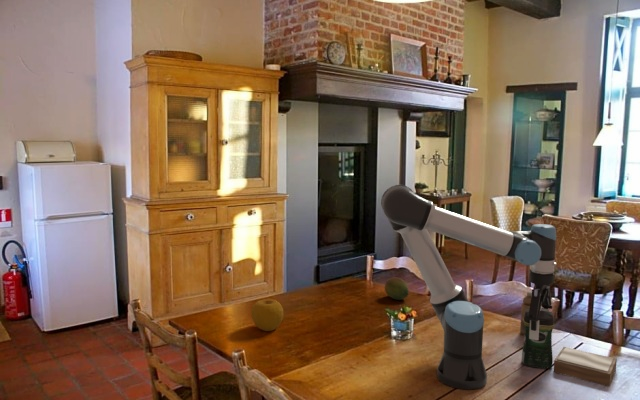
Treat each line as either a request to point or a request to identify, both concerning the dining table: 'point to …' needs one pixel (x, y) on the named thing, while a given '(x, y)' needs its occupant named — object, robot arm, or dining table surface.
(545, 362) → the coffee jar
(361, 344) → the dining table surface
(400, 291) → the fruit
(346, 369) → the dining table surface
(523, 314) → the pepper mill
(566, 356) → the plinth
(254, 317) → the apple
